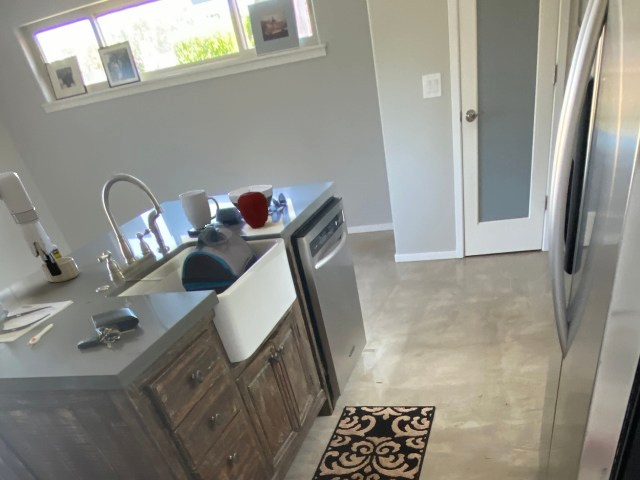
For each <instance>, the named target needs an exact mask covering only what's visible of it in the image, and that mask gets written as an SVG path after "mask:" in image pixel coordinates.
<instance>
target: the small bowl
mask: <svg viewBox="0 0 640 480" xmlns="http://www.w3.org/2000/svg"><path fill="white" fill-rule="evenodd" d="M55 262H57V264H58V266H59V268H60V270H61V272H62V274H61V275H58V276H52V275H51V273H50V272H49V270H48V268H47V266H46V264H45V263H44V262H43V263H41V264H40V265H39V268H40V269H41V272H42V274H43V275H44V277H45V279H46V281H48V282H49V283H53V284H54V283H56V284H57V283H62V282H66V281H69V280H72V279H75V278H76V277H78V275H79V274H80V270H79V268H78V267H79V266H77V264H76V262H75V260H74V258H73V257H72V256H62V258H57V259H55Z"/></svg>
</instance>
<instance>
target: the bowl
mask: <svg viewBox="0 0 640 480" xmlns="http://www.w3.org/2000/svg"><path fill="white" fill-rule="evenodd" d="M249 191H250V192H261V193H262V194H264V195H265V197H266V199H267V201H268V209H269V208H270V206H271V204H272V199H273V195H274V189H273V185H271V184H255V185H250V186H244V187H239V188H236V189H234V190H232V191H229V192H228V193H227V196H228V197H227V198H228V199H229V201H230V202H231V204H232V205H233V206H234V207H235V208H236V210H237V209H238V207H237V201H238V198H239V197H240V195H242V194H244V193H247V192H249ZM238 210H239V209H238ZM238 210H237V211H238ZM268 212H269V210H268Z"/></svg>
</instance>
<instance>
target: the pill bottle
mask: <svg viewBox="0 0 640 480" xmlns="http://www.w3.org/2000/svg"><path fill="white" fill-rule="evenodd" d="M48 238H49V240H50V242H51V244H52V246H53V249H52V251H51V252H52V254H53V256H54V258H55V259H57V258H62V257H63V256H62V254H61V252H60V249H59V248H58V246H57V245H56V244H54V243H52V239H51V238H50V236H48Z"/></svg>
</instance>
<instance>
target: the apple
mask: <svg viewBox="0 0 640 480" xmlns="http://www.w3.org/2000/svg"><path fill="white" fill-rule="evenodd" d="M237 207H238V209H239V211H240V212H239V211H238V212H239V214H240V215H241V217H242V218H243V220H244V222H245V223H246V224H247V225H248V226H249V227H251V228H252V229H262V228H263V227H264V226H265V225H266V223H267V222H268V220H269V211H268V209H269V208H268V201H267V199H266V197H265V195H264V194H262V193H261V192H250V191H249V192H247V193H244V194H242V195H240V197H239V198H238V201H237Z"/></svg>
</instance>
